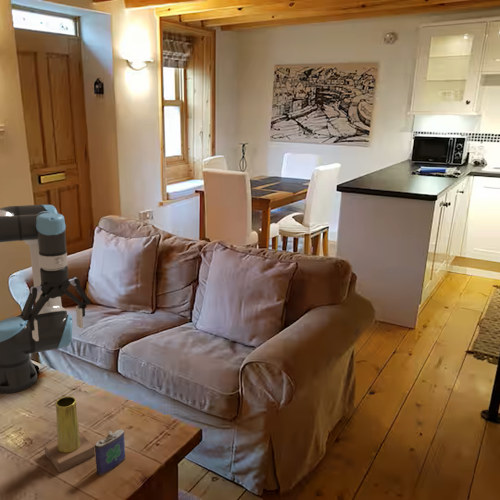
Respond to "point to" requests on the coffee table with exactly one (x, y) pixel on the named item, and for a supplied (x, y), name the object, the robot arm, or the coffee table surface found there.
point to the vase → (67, 425)
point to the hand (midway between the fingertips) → (58, 332)
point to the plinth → (69, 454)
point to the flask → (110, 452)
